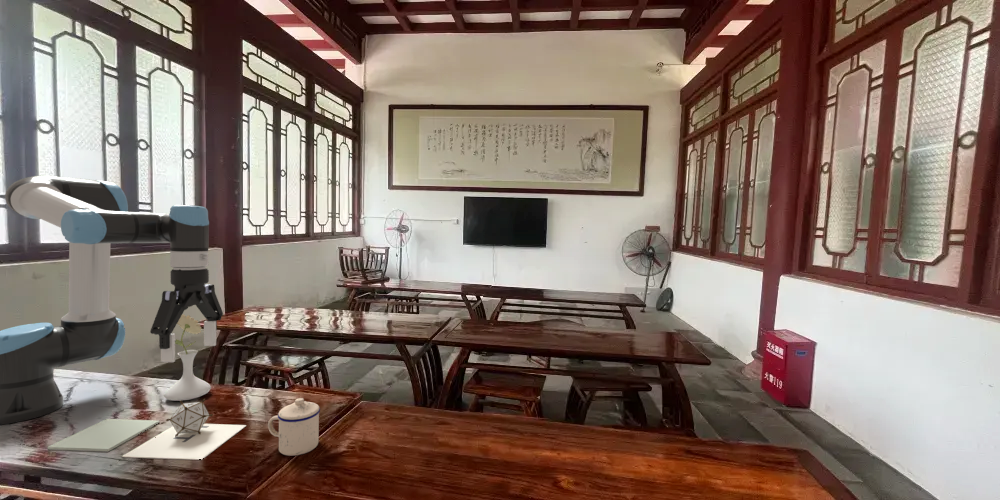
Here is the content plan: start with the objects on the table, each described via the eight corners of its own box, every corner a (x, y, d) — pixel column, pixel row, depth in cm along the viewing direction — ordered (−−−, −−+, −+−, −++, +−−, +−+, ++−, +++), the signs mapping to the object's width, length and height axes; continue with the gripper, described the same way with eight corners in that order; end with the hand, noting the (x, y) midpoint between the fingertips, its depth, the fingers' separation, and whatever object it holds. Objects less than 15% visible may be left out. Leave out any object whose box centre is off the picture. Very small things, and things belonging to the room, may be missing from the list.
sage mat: (47, 449, 93) (47, 446, 93) (106, 421, 107) (106, 418, 107) (108, 451, 93) (108, 449, 93) (159, 422, 107) (159, 420, 107)
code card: (121, 457, 91) (121, 456, 91) (178, 423, 107) (178, 422, 107) (201, 460, 91) (201, 458, 91) (246, 425, 107) (246, 425, 107)
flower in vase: (217, 395, 126) (217, 315, 124) (173, 408, 116) (172, 321, 115) (198, 385, 132) (198, 309, 131) (155, 396, 123) (154, 315, 122)
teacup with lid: (326, 437, 103) (326, 392, 102) (308, 457, 93) (308, 408, 93) (279, 435, 103) (279, 390, 102) (256, 455, 94) (257, 406, 93)
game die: (191, 450, 101) (180, 431, 95) (165, 434, 102) (153, 414, 96) (223, 420, 108) (215, 400, 102) (198, 405, 109) (189, 384, 103)
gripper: (162, 273, 88) (163, 370, 89) (237, 264, 113) (238, 340, 114) (128, 272, 88) (129, 369, 89) (211, 263, 113) (211, 339, 114)
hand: (190, 353), depth 101 cm, fingers open, 13 cm apart
